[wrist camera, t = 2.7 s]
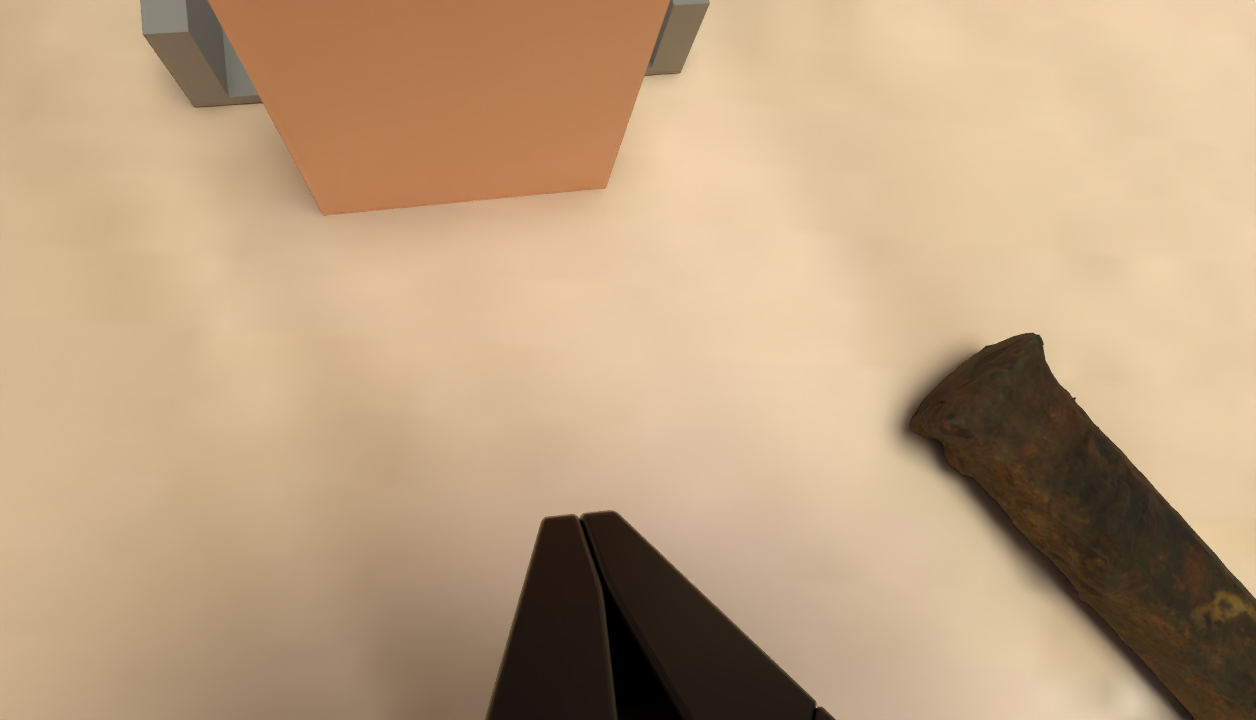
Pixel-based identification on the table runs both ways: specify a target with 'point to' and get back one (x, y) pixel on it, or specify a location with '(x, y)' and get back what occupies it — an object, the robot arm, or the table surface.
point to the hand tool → (1099, 524)
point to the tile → (445, 93)
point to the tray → (218, 77)
